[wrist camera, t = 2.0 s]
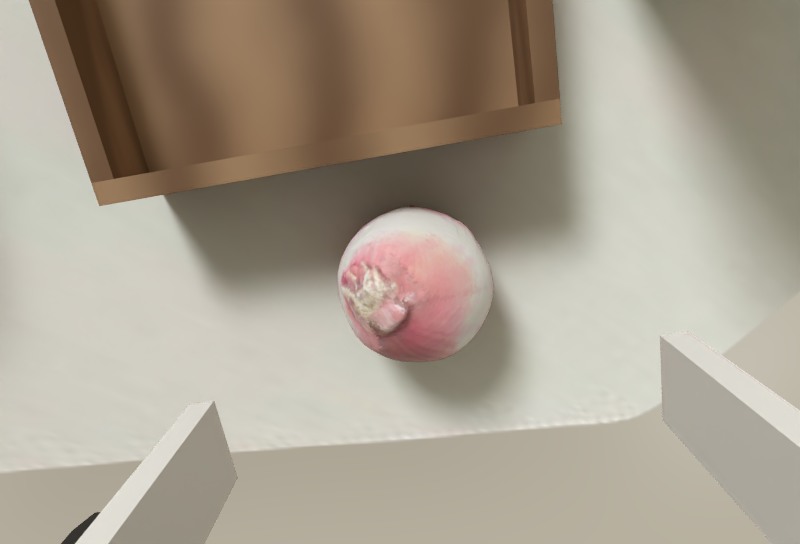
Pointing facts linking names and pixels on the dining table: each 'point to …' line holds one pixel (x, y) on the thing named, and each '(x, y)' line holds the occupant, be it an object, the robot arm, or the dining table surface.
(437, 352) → the onion
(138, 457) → the dining table surface
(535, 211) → the dining table surface
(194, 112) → the wooden tray
